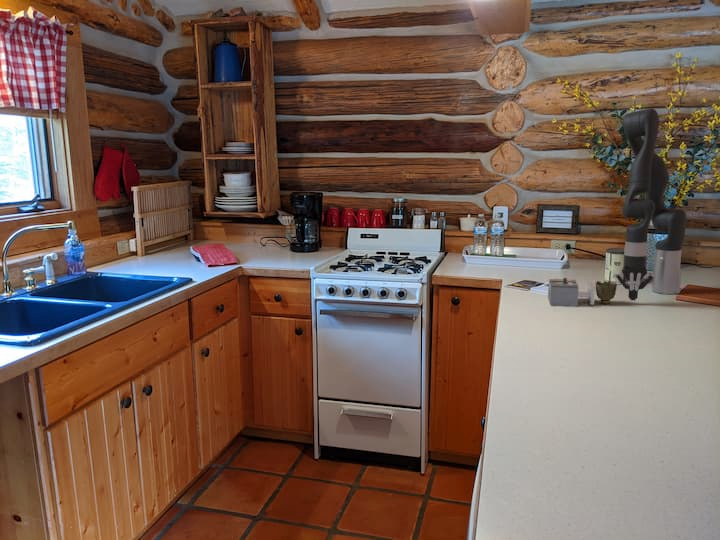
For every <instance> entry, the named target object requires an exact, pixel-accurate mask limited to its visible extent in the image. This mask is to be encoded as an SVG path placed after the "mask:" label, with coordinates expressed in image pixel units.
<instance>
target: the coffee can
mask: <svg viewBox="0 0 720 540" xmlns="http://www.w3.org/2000/svg"><path fill="white" fill-rule="evenodd" d="M624 249H625V247H624V248H623V247H622V248H621V247H612V248H611V247H610V248H606V249H605V262H604V263H605V269H604V270H605V271H604V281H606V282H608V281H610V282H611V283H612V282H614V284H615V282H616V283H617V285H622V284H621V283H620V281H619V280H618V279H617V278H616V274H619V273H621V272H622V269H623V266H624ZM622 280H623V281H624V282H625V283H626V285H628V280H627V279H626V277H625V276H624V275H623V279H622ZM604 281H603V282H604Z"/></svg>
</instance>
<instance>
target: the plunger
mask: <svg viewBox="0 0 720 540" xmlns="http://www.w3.org/2000/svg"><path fill="white" fill-rule="evenodd" d="M565 278H566V279H567V281H566V282H568V279H569V278H567V277H565ZM595 292H596V286H595V284H594V283H593V282H592V281H590V282H588V284H587V291H578V298H587V301H588V303H589V305H591V306H594V305H595V294H596V293H595Z"/></svg>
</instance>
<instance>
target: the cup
mask: <svg viewBox="0 0 720 540" xmlns="http://www.w3.org/2000/svg"><path fill="white" fill-rule="evenodd" d="M617 288H618V284H617V283H616V282H615V284H614V282H612V283H611V282H610V281H608V282H606V281H603V282H601V281H600V280H597V281H596V282H595V292H596V293H595V294H596V296H597V298H598V299H599V303H600V304H602V305H610V304H611V300H612V299H614V298H615V296H616V294H617V293H616V291H617Z"/></svg>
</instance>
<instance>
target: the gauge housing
mask: <svg viewBox="0 0 720 540" xmlns="http://www.w3.org/2000/svg"><path fill="white" fill-rule="evenodd" d="M567 279H568V282H566V283H563V278H553V279H552V278H551V279H550V278H549V279H548V289H547V290H548V292H547V294H548V296H547V298H548V299H547V300H548V302H549V304H550V306H552V307H578V305H579V297H578V292H579V289H580V288H579V284H578V282H577V281H576V279H570V278H567Z"/></svg>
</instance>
